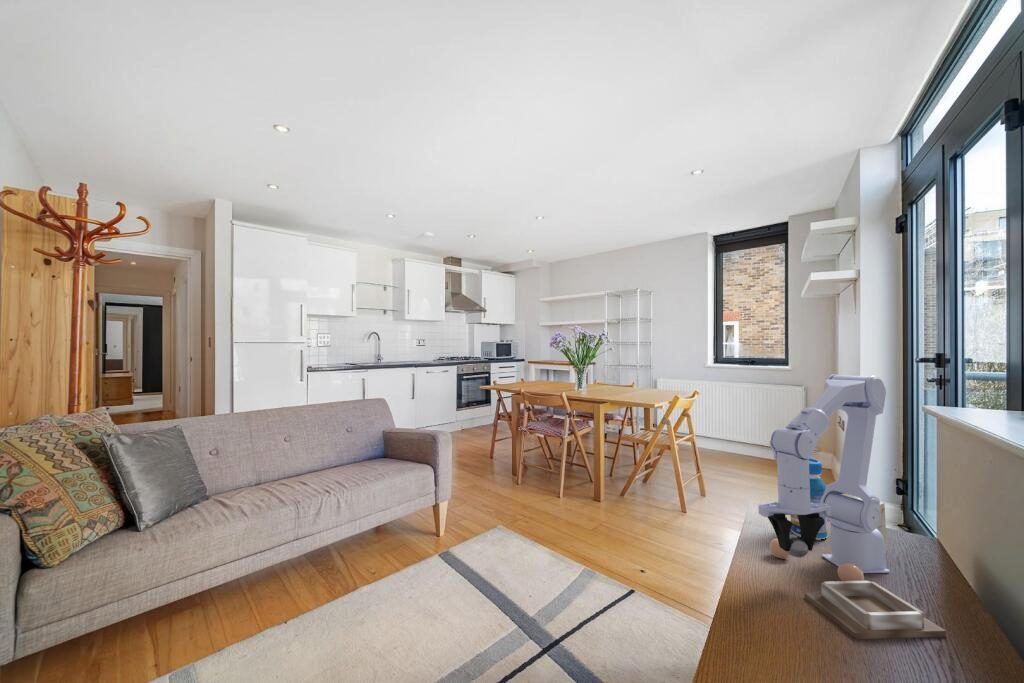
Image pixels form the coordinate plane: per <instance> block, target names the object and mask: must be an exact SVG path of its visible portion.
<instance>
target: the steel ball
mask: <svg viewBox="0 0 1024 683" xmlns="http://www.w3.org/2000/svg"><path fill="white" fill-rule="evenodd" d="M787 552H788V553H789V554H790V556H791V557H794V558H796V559H797V558H798V559H799V558H804V557H806V555H807V554H808V552H809V550H808V545H807V543H806V541H805V540H804V539H803V538H801V537H800V536H798V535H796V534H790V548H789V551H787Z"/></svg>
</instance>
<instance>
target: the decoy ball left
mask: <svg viewBox="0 0 1024 683" xmlns="http://www.w3.org/2000/svg"><path fill="white" fill-rule="evenodd" d="M864 574H865V573H863V572H862V571H861V570H860V568H858V567H857V566H856V565H854V564H851V563H843V564H841V565H840V566H839V567H838V566H837V576H838V577H839V579H840V581H865V575H864Z"/></svg>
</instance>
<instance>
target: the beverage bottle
mask: <svg viewBox="0 0 1024 683" xmlns="http://www.w3.org/2000/svg"><path fill="white" fill-rule="evenodd" d="M822 473H823V465H822V462H821V461H820V460H818V459H814V458H811V457H810V458H809V478H810V503H820V501H821V498H822V496H823V494H824V492H825V489H826V484H825V482H824V480H823V478H821V476H822ZM820 517H822V518H823V519H824V522H825V523H824V525H823V526H822V527H821V529H820V530H819V532H818V534H817V536H816V539H817V540H816V541H822V540H821V539H824V540H826V539H827V538H828V528H827V525H828V524H827V517H825V516H824V515H823V514H820ZM790 521H791V522H792V523H793V524H792V526H791V530H790V532H792V533H793V535H797V536H800V537H801V529H800V524H799V519H798V516H797V515H790ZM825 538H826V539H825Z"/></svg>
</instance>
